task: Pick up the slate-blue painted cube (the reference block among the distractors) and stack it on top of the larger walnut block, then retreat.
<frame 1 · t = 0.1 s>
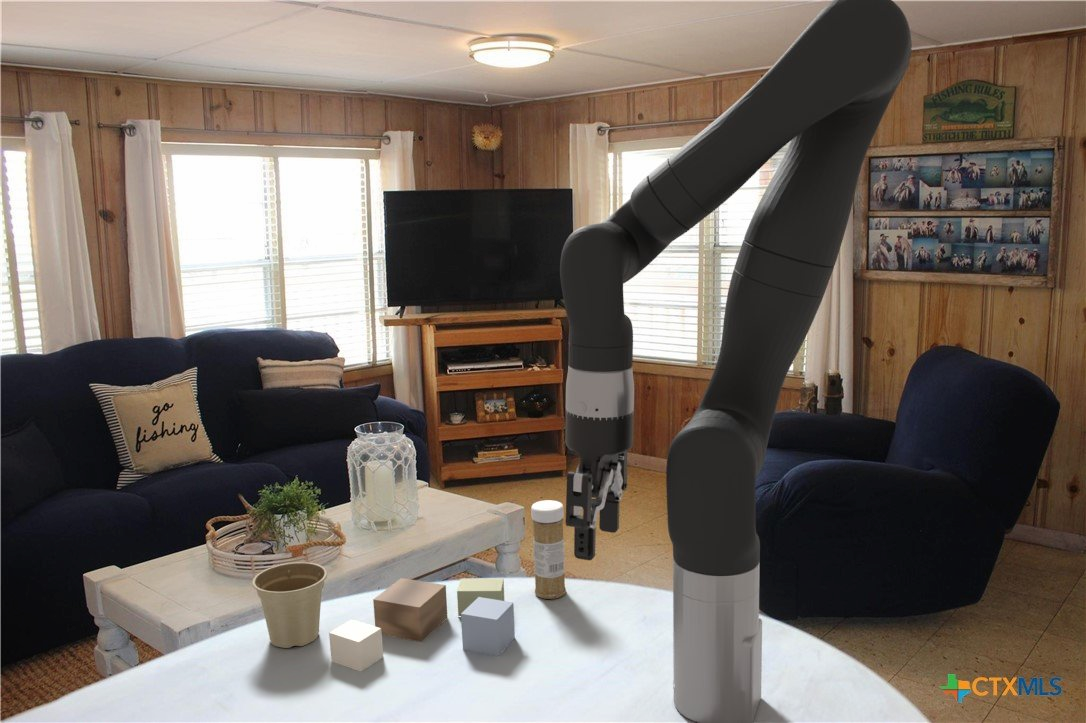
hand: (597, 544, 102), 17 cm above the table, tool pointing down, fingers open, 8 cm apart
walnut block: (412, 626, 121), on the table
cream block: (357, 659, 113), on the table
olive block: (481, 611, 125), on the table
slate block: (489, 644, 115), on the table
sprinkles bottle: (550, 594, 129), on the table
flower pot: (295, 639, 119), on the table
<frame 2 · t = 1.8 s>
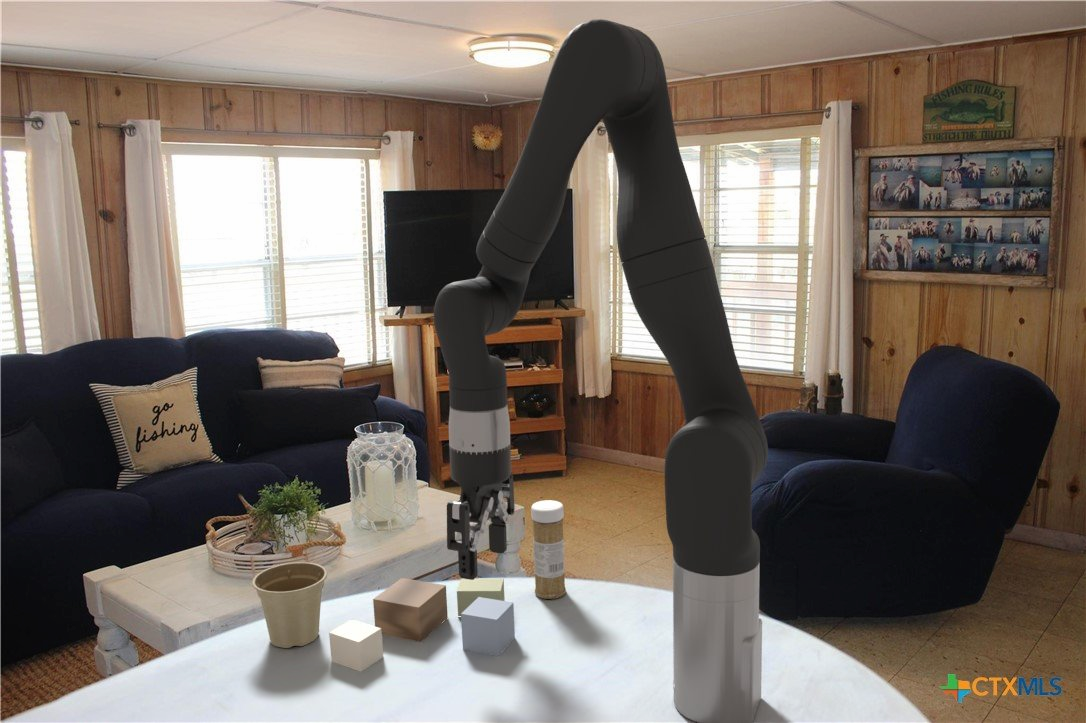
hand: (483, 564, 113), 11 cm above the table, tool pointing down, fingers open, 8 cm apart
nothing on the table moved.
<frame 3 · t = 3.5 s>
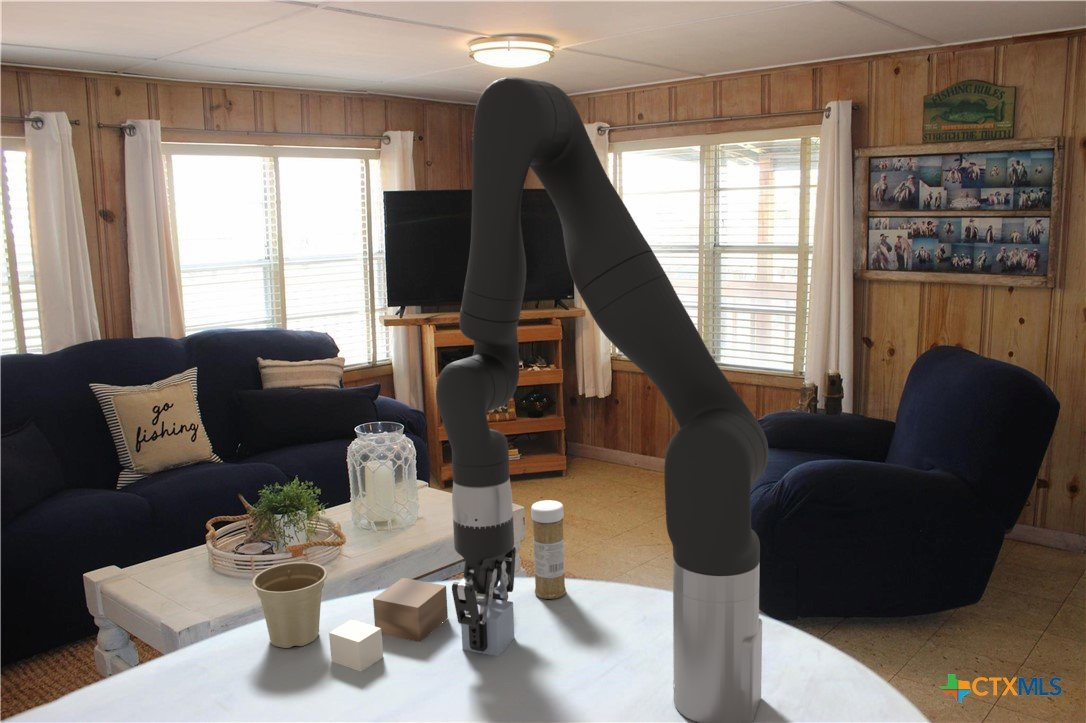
hand: (488, 638, 115), 1 cm above the table, tool pointing down, fingers closed on slate block, 5 cm apart
slate block: (488, 643, 115), on the table, touching gripper
everything else where it was.
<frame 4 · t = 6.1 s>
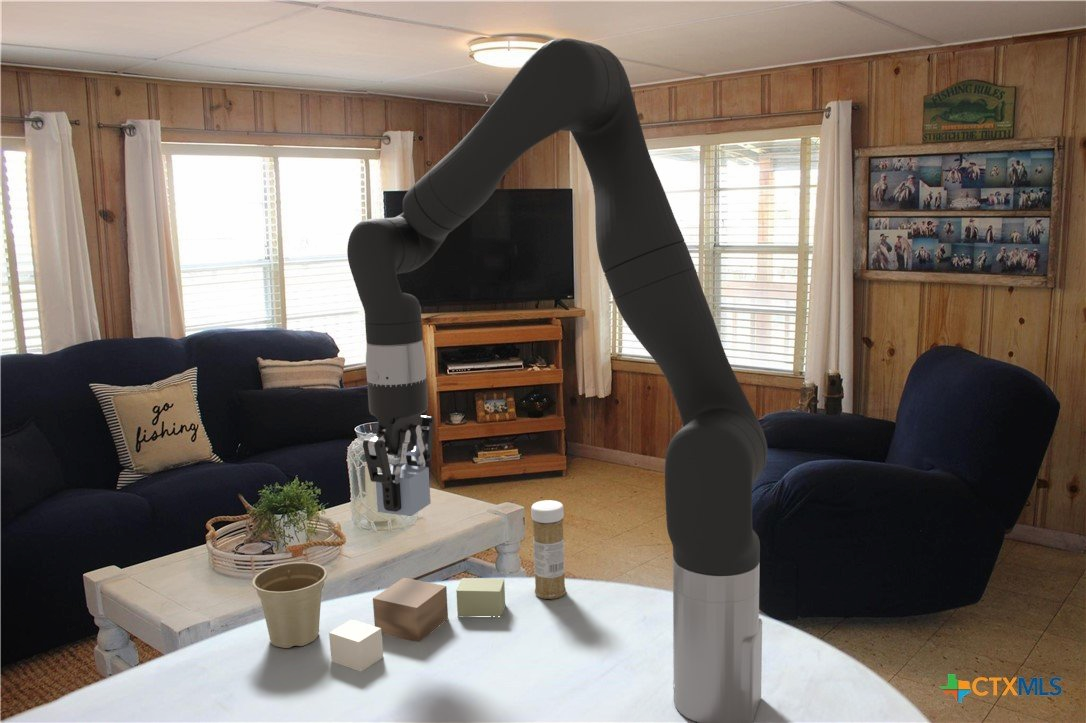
hand: (404, 502, 118), 17 cm above the table, tool pointing down, fingers closed on slate block, 5 cm apart
slate block: (404, 507, 118), point 17 cm above the table, touching gripper
everything else where it was.
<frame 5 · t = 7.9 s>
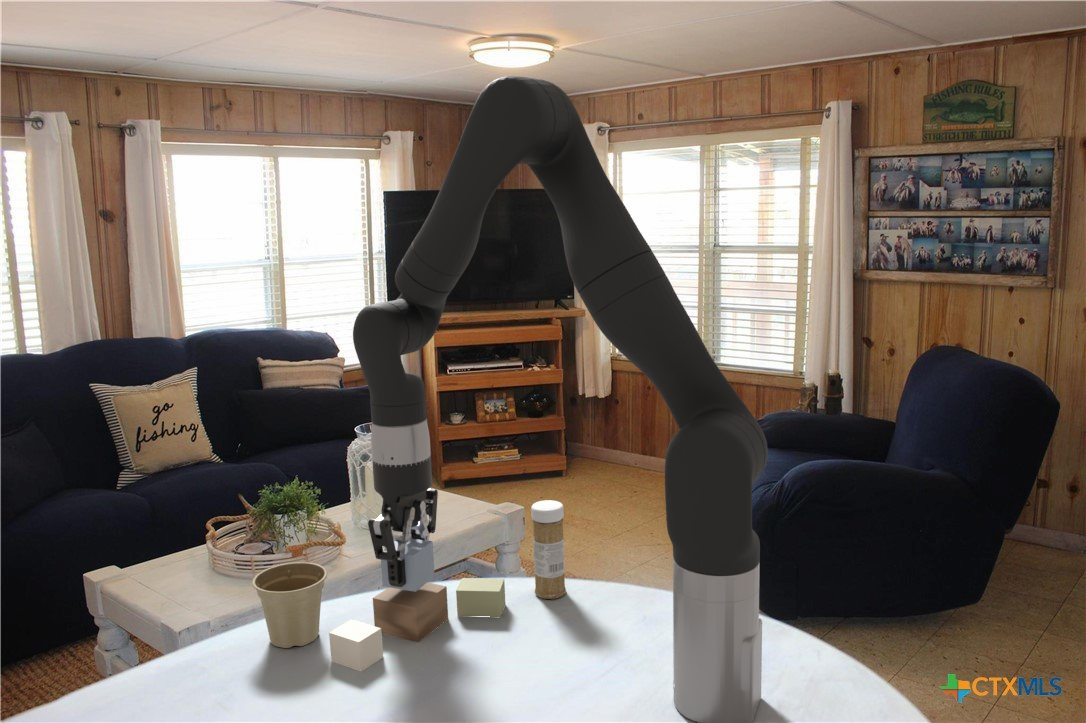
hand: (408, 576, 120), 7 cm above the table, tool pointing down, fingers closed on slate block, 5 cm apart
slate block: (408, 581, 120), point 6 cm above the table, touching gripper
everything else where it was.
when the fingers open (7 cm above the table, at t = 9.2 s): slate block drops 1 cm, resting on walnut block.
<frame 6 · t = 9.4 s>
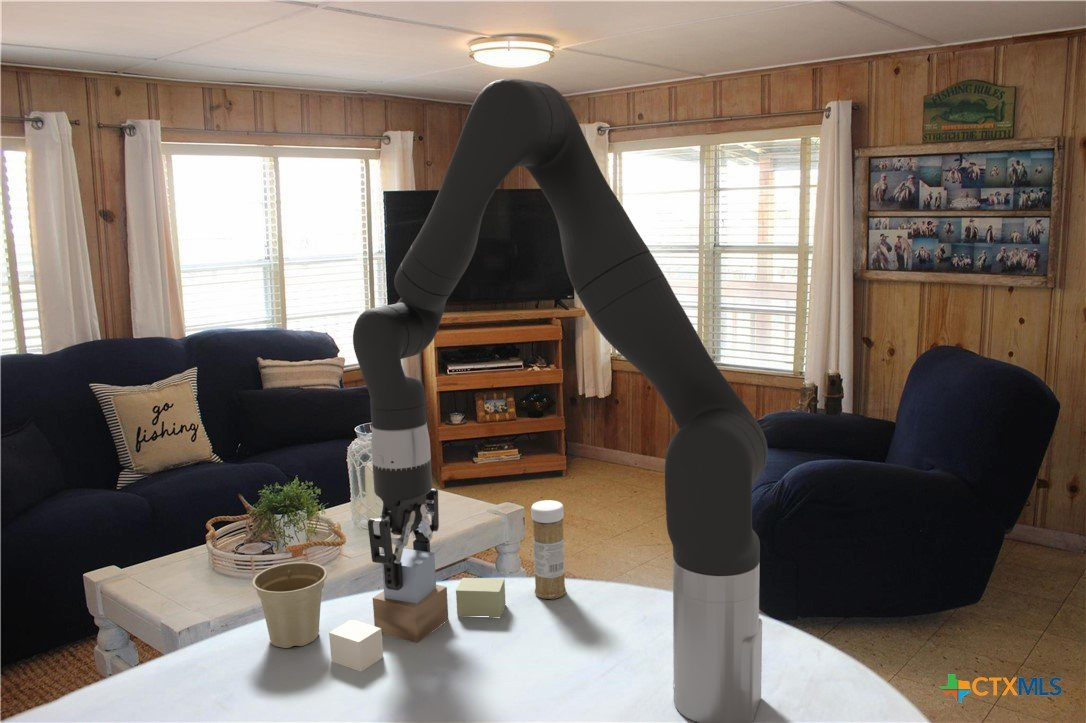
hand: (409, 577, 120), 7 cm above the table, tool pointing down, fingers open, 6 cm apart
walnut block: (412, 626, 121), on the table, touching slate block
slate block: (410, 592, 120), point 5 cm above the table, touching walnut block
everything else where it was.
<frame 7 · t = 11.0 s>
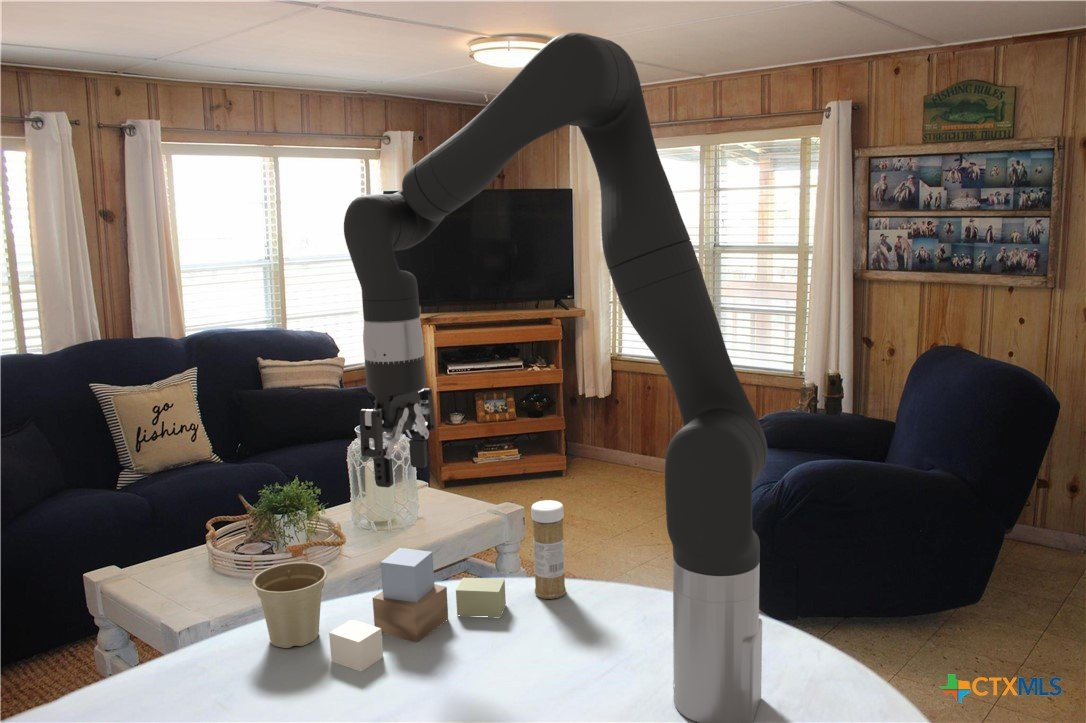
hand: (402, 476, 117), 21 cm above the table, tool pointing down, fingers open, 8 cm apart
nothing on the table moved.
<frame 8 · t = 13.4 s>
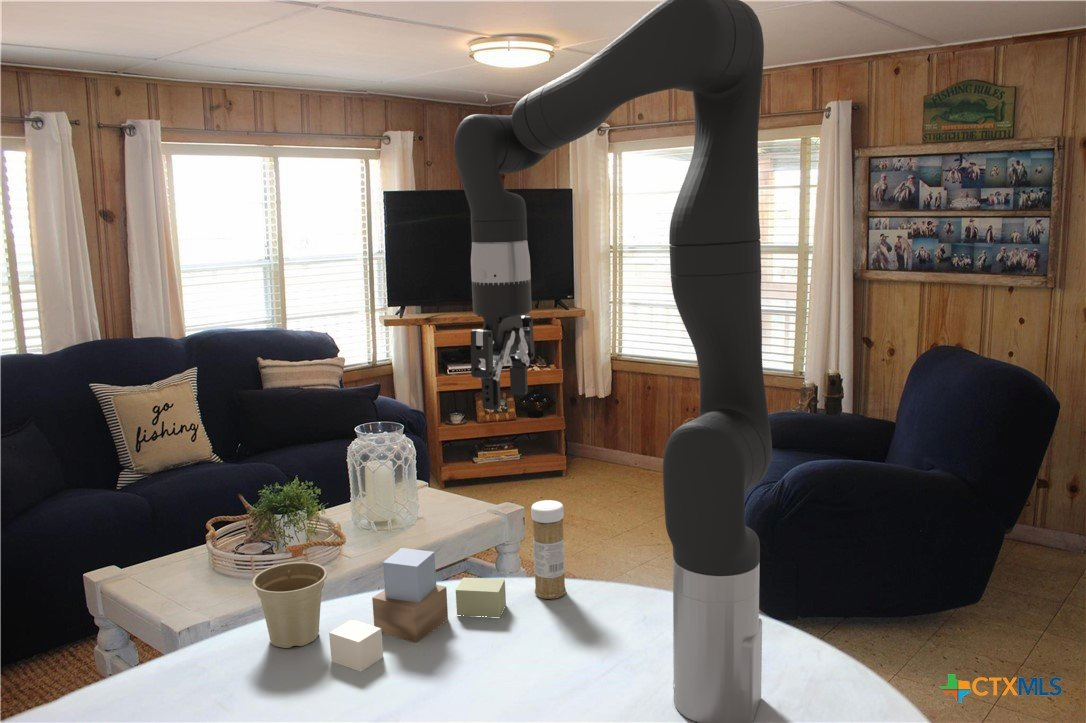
hand: (506, 401, 117), 30 cm above the table, tool pointing down, fingers open, 8 cm apart
nothing on the table moved.
at the end: slate block 0.2 cm off-centre on the walnut block, point 5.0 cm above the walnut block's base; slate block tilted 0°; the gripper is holding nothing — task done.
